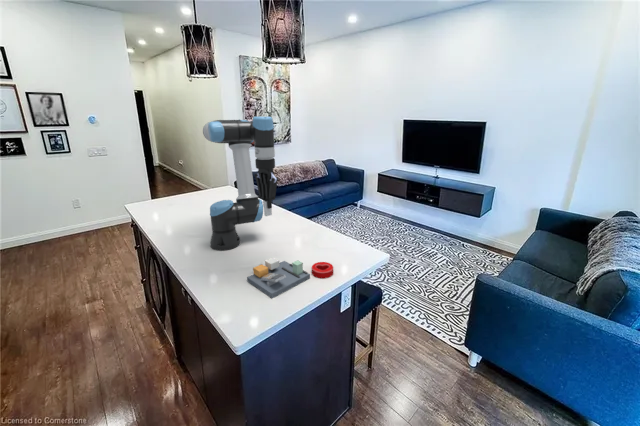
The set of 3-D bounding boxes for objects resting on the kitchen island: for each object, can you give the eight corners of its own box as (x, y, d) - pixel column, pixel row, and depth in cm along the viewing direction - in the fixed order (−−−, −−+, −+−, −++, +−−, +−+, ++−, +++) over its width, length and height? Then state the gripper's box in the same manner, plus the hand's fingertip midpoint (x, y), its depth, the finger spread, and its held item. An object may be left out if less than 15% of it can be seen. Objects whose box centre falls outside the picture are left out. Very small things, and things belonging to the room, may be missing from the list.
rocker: (261, 280, 119) (260, 277, 119) (271, 275, 122) (270, 272, 122) (275, 282, 112) (274, 279, 111) (285, 277, 115) (285, 274, 115)
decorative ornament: (316, 280, 124) (316, 274, 123) (308, 270, 132) (308, 264, 131) (337, 276, 127) (337, 269, 126) (327, 265, 136) (327, 259, 135)
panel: (247, 281, 122) (246, 273, 121) (284, 264, 136) (284, 257, 135) (272, 298, 111) (271, 289, 110) (309, 278, 125) (309, 270, 124)
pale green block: (292, 272, 125) (292, 262, 123) (298, 269, 127) (297, 260, 126) (297, 275, 123) (297, 265, 121) (303, 272, 125) (302, 262, 124)
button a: (253, 273, 123) (253, 267, 122) (262, 269, 126) (261, 264, 125) (259, 277, 120) (259, 271, 119) (268, 273, 123) (268, 267, 122)
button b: (265, 266, 127) (264, 260, 126) (273, 262, 130) (273, 257, 129) (271, 270, 124) (271, 264, 123) (279, 266, 127) (279, 260, 126)
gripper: (247, 157, 116) (251, 213, 123) (267, 160, 107) (270, 221, 115) (263, 155, 121) (266, 209, 129) (283, 158, 112) (285, 216, 120)
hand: (268, 215), depth 122 cm, fingers closed
